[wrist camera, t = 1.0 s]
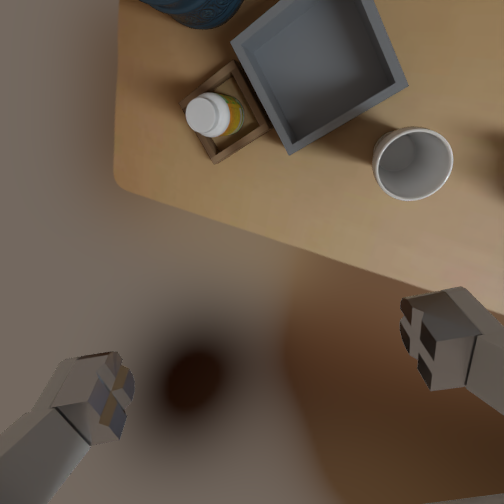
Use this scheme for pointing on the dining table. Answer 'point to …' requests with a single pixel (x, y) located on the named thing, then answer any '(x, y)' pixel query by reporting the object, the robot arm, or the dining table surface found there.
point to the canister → (198, 11)
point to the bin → (318, 65)
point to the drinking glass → (411, 162)
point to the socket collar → (265, 126)
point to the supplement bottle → (215, 114)
